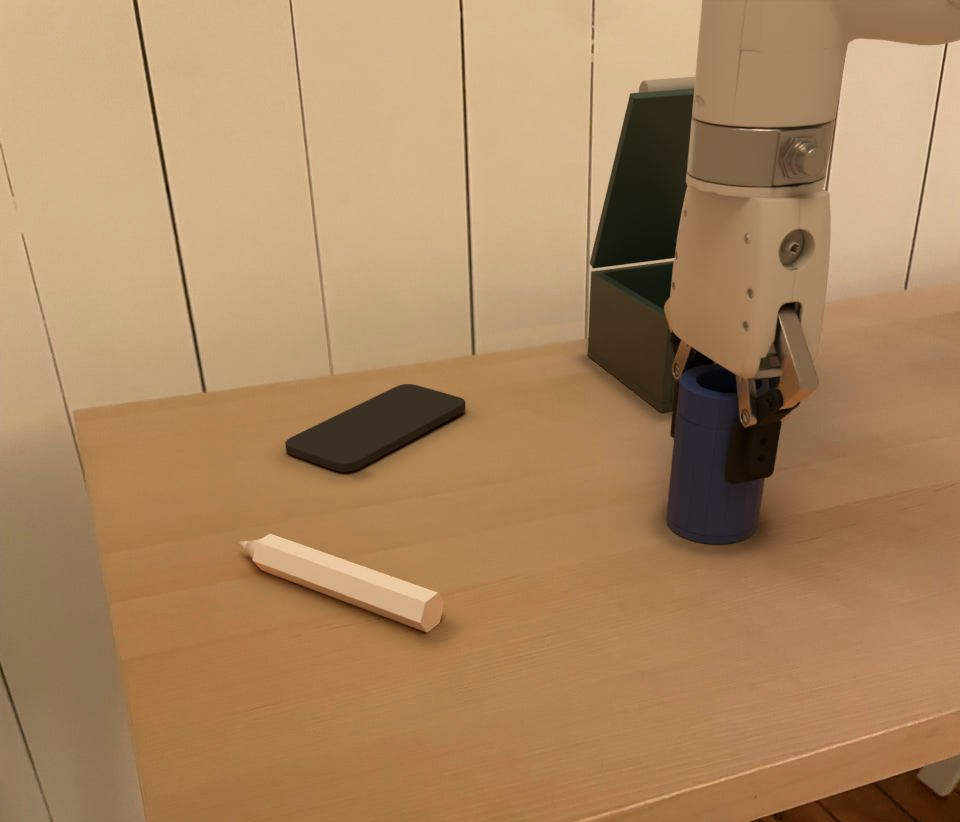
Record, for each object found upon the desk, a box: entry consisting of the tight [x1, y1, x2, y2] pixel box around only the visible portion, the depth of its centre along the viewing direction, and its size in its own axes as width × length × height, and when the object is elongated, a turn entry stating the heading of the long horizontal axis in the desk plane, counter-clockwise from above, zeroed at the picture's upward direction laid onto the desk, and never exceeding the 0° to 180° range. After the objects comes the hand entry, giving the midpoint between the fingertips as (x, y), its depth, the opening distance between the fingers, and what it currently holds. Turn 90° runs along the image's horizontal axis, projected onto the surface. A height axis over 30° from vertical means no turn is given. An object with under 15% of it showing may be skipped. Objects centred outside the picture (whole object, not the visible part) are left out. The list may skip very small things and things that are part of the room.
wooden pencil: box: [235, 533, 446, 634], centre depth 62 cm, size 3×2×16 cm
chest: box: [587, 260, 770, 413], centre depth 89 cm, size 15×12×8 cm
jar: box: [666, 364, 769, 545], centre depth 66 cm, size 6×6×10 cm
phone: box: [284, 383, 466, 473], centre depth 82 cm, size 7×1×15 cm
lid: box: [589, 76, 695, 269], centre depth 86 cm, size 15×12×5 cm
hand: (719, 454), depth 66 cm, fingers closed on jar, 6 cm apart
